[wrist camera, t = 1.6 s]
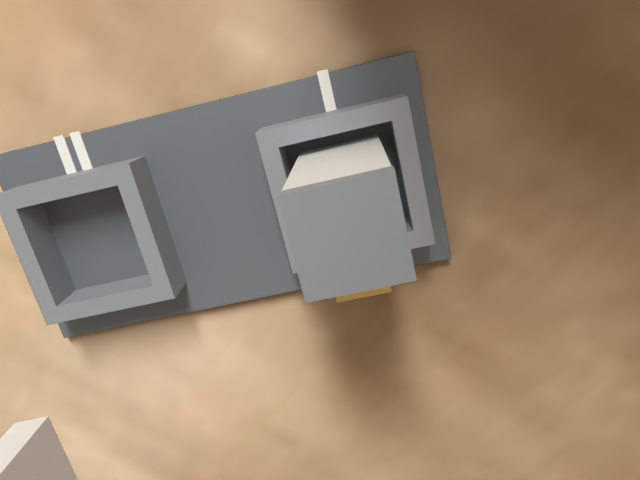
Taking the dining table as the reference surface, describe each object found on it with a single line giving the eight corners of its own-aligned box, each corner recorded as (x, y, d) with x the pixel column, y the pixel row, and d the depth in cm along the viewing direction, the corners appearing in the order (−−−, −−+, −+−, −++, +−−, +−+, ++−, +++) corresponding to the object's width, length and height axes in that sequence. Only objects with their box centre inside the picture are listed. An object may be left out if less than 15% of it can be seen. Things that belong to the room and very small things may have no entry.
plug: (299, 150, 31) (276, 195, 21) (377, 132, 31) (394, 169, 20) (321, 240, 33) (310, 324, 22) (396, 224, 33) (421, 302, 22)
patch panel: (-7, 152, 33) (-41, 161, 30) (412, 47, 30) (419, 46, 27) (68, 333, 36) (44, 357, 33) (449, 255, 34) (459, 273, 31)
